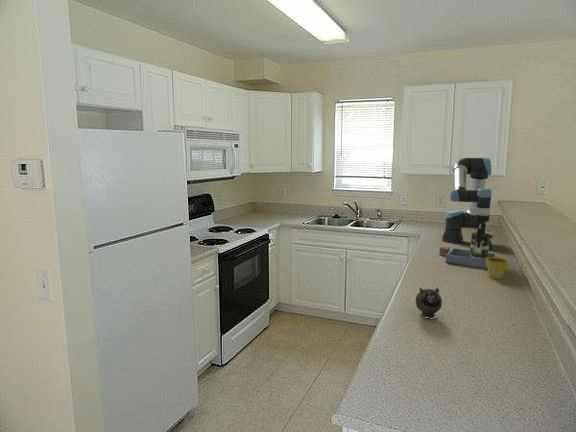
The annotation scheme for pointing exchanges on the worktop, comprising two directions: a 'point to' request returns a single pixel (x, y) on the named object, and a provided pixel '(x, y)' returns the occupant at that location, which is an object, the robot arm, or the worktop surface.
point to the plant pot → (496, 267)
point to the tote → (466, 258)
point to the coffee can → (484, 246)
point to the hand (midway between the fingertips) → (479, 250)
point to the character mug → (490, 236)
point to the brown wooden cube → (444, 250)
